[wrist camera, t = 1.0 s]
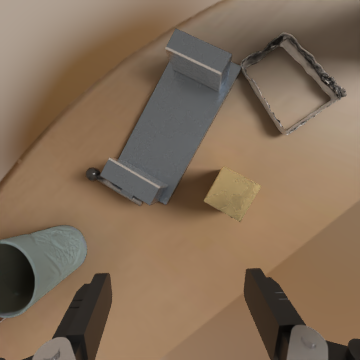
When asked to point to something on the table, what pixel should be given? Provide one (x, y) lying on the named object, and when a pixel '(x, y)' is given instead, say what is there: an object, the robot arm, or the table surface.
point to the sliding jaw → (198, 60)
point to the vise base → (164, 138)
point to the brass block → (231, 193)
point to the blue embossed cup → (37, 265)
